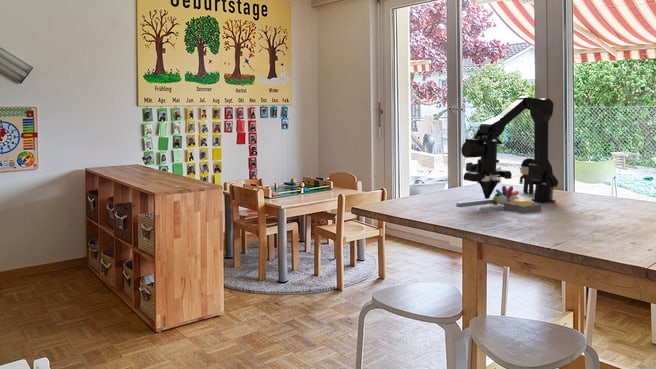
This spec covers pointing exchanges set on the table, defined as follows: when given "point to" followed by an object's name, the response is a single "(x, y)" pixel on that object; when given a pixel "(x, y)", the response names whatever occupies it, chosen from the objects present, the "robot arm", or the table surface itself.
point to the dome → (522, 202)
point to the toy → (526, 176)
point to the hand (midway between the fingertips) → (486, 198)
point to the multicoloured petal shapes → (505, 195)
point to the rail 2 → (491, 208)
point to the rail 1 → (475, 202)
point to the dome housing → (523, 207)
